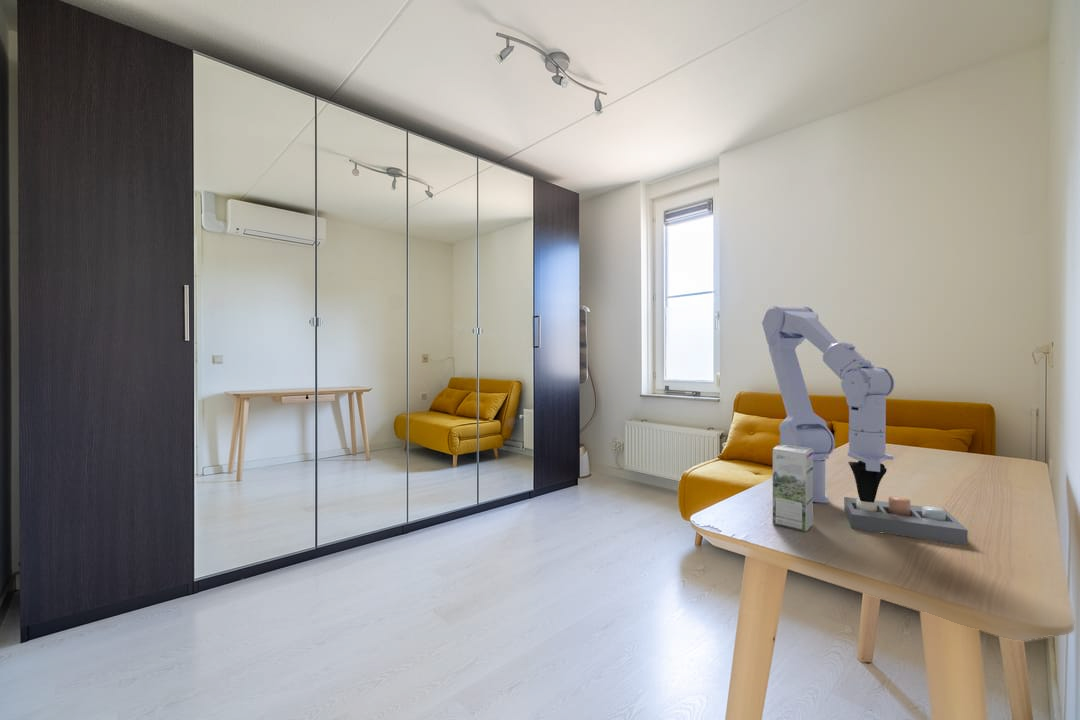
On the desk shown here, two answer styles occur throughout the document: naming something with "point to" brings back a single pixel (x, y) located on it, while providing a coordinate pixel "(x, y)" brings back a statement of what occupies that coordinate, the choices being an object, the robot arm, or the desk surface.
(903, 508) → the terracotta key
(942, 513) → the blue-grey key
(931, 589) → the desk surface
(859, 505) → the ivory key
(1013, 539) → the desk surface
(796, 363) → the robot arm
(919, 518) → the grey compartment tray
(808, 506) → the syrup box
